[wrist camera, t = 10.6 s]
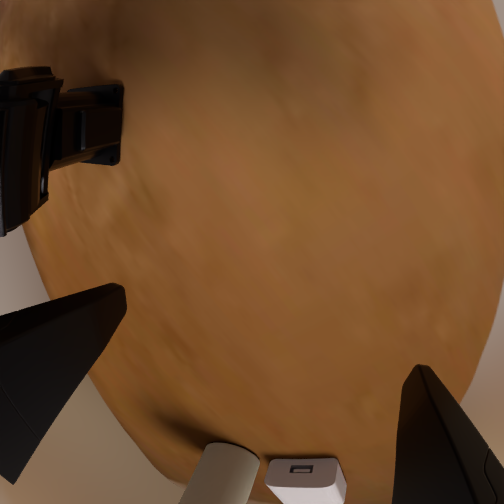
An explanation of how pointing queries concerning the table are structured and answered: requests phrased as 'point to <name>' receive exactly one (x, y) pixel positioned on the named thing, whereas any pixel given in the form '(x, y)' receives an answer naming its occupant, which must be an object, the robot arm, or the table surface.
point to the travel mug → (222, 476)
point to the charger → (307, 481)
